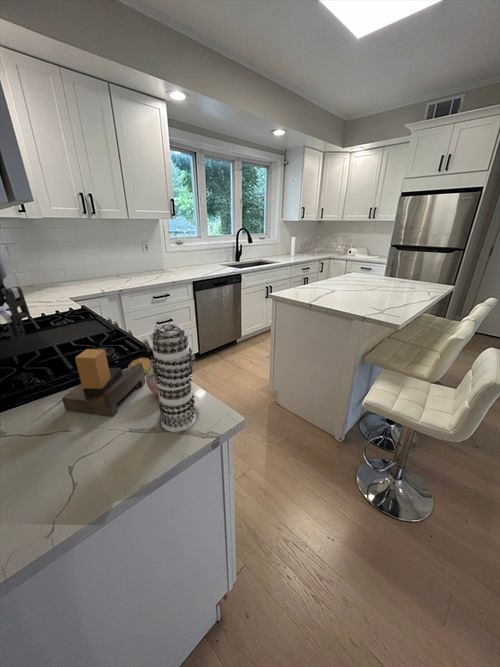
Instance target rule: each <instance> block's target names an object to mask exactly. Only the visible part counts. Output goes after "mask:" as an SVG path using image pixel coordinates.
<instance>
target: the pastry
mask: <svg viewBox="0 0 500 667" xmlns="http://www.w3.org/2000/svg"><path fill="white" fill-rule="evenodd" d="M138 363H142V364H143V370H144V375H147V373H148V372H149V371H150V370H151V360H150V358H148V357H139V358H136V359H134V360H132V361H131V362H130V363H129V364H128V366H127V370H129V371H130V370H131V369H132V368H133V367H134V366H135V365H137V364H138Z"/></svg>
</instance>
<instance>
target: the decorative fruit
mask: <svg viewBox="0 0 500 667" xmlns="http://www.w3.org/2000/svg"><path fill="white" fill-rule="evenodd" d="M153 370H154V369H153V368H152V367H151V368H150V370H149V371H148V372H147V373H146V375H145V384H146V385H147V387H148V389H149V390H150V391H151V392H152V394H155V395H158V396H159V387H157V384H156V381H155V378H156V377H154V374H155V373H154V372H153Z"/></svg>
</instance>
